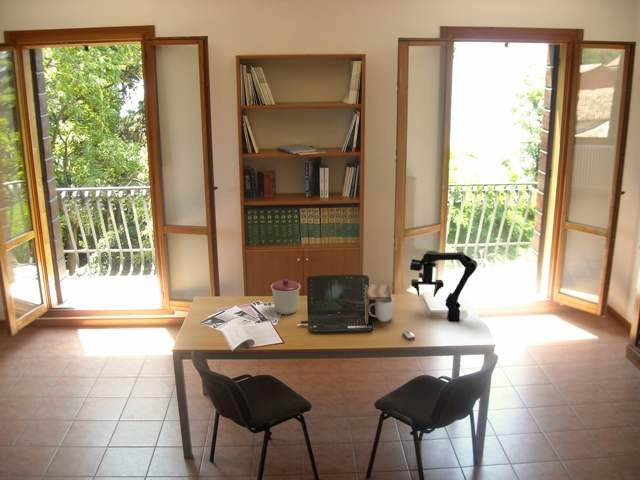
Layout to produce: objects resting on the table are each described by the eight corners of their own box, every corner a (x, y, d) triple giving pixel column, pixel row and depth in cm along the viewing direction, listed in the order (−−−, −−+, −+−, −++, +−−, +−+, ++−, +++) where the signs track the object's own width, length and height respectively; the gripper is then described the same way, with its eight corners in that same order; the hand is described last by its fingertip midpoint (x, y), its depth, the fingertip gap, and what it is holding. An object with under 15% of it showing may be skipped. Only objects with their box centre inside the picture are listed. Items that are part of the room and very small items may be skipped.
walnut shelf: (387, 312, 371) (388, 284, 366) (389, 326, 352) (390, 297, 347) (364, 312, 372) (365, 284, 367) (365, 326, 353) (366, 296, 347)
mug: (368, 323, 356) (369, 302, 353) (366, 315, 367) (367, 295, 363) (394, 323, 357) (395, 302, 353) (391, 315, 367) (392, 295, 364)
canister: (302, 306, 381) (302, 274, 375) (298, 317, 364) (298, 284, 358) (274, 304, 383) (273, 273, 377) (268, 316, 365) (268, 283, 359)
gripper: (441, 267, 368) (439, 291, 373) (410, 267, 369) (409, 291, 373) (444, 274, 358) (442, 298, 362) (412, 273, 358) (411, 298, 363)
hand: (426, 296), depth 365 cm, fingers open, 9 cm apart
